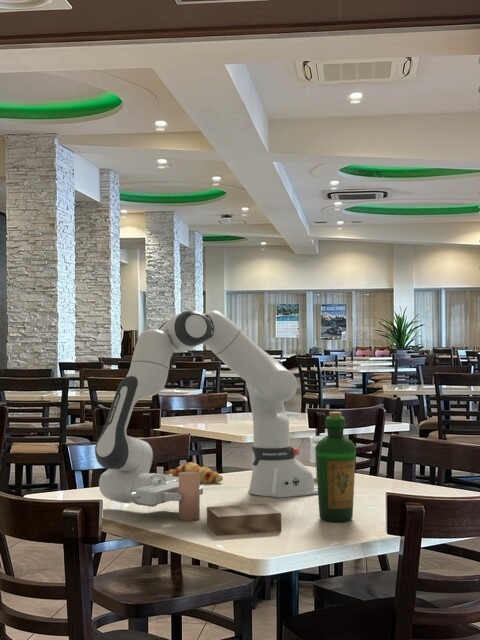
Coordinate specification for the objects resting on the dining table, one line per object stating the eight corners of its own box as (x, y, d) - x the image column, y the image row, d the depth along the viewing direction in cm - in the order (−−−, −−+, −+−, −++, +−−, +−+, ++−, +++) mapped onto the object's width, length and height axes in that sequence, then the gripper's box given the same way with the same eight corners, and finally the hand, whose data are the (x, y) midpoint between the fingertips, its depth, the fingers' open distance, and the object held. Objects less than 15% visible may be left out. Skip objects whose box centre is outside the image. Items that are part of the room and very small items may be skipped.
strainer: (334, 477, 279) (333, 433, 279) (325, 480, 273) (325, 435, 273) (315, 475, 282) (315, 432, 283) (306, 478, 276) (306, 434, 277)
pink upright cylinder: (197, 516, 217) (197, 471, 218) (201, 520, 212) (201, 474, 212) (177, 517, 216) (177, 472, 216) (181, 521, 211) (181, 475, 211)
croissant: (225, 492, 270) (228, 469, 274) (217, 482, 262) (221, 459, 266) (165, 488, 276) (169, 465, 280) (156, 478, 268) (160, 455, 272)
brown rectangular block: (267, 521, 211) (266, 503, 211) (281, 531, 200) (281, 512, 200) (207, 524, 207) (207, 507, 207) (218, 535, 195) (217, 516, 195)
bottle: (346, 525, 206) (345, 414, 206) (308, 520, 211) (307, 413, 212) (363, 517, 215) (362, 411, 215) (326, 513, 220) (325, 410, 221)
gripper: (125, 483, 212) (167, 488, 205) (172, 472, 230) (212, 476, 222) (125, 508, 212) (167, 513, 205) (172, 495, 230) (212, 500, 222)
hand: (191, 494), depth 214 cm, fingers open, 8 cm apart
